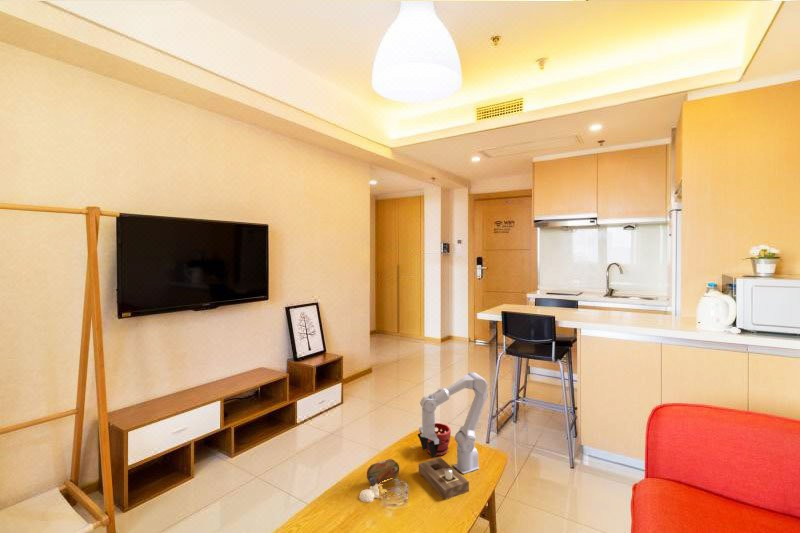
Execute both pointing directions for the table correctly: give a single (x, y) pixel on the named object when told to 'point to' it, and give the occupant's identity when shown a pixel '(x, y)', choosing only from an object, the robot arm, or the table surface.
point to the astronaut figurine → (369, 494)
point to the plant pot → (441, 438)
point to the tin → (382, 471)
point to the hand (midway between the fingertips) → (429, 453)
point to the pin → (448, 474)
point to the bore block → (443, 478)
